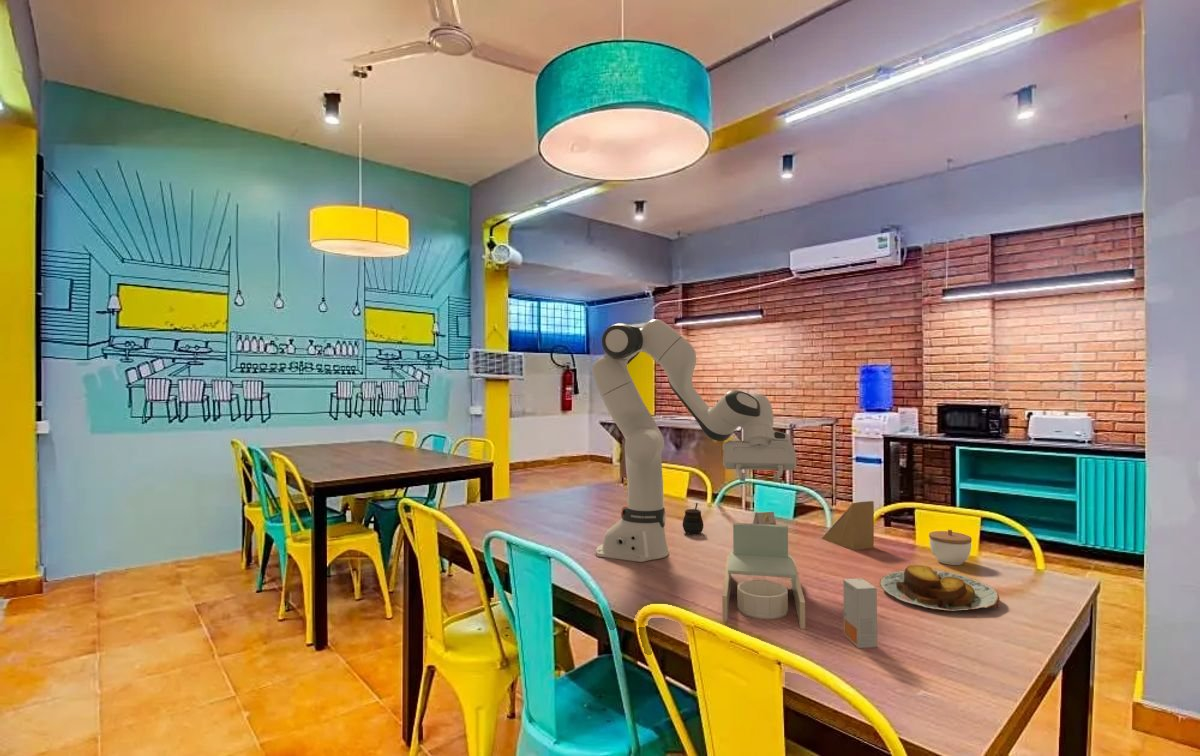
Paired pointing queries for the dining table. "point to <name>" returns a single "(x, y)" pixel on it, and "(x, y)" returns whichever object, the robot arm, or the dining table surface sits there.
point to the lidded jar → (950, 546)
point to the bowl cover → (761, 551)
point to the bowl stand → (764, 598)
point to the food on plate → (939, 589)
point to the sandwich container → (854, 527)
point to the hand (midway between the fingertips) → (759, 480)
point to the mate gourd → (693, 521)
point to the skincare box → (860, 612)
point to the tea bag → (764, 518)
